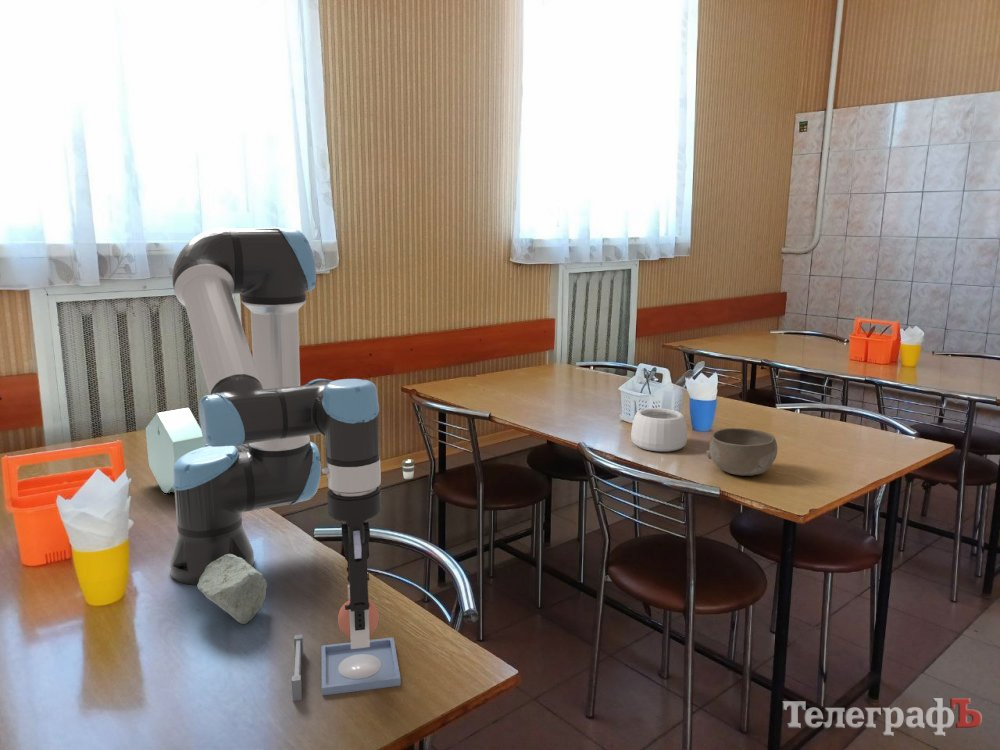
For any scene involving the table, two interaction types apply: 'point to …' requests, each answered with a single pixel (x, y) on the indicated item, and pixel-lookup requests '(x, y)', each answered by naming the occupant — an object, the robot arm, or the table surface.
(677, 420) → the white faceted pot
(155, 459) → the pale green faceted block
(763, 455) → the bowl
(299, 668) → the fence
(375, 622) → the ball
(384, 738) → the table surface
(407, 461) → the coffee cup
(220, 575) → the decorative stone
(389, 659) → the dish
